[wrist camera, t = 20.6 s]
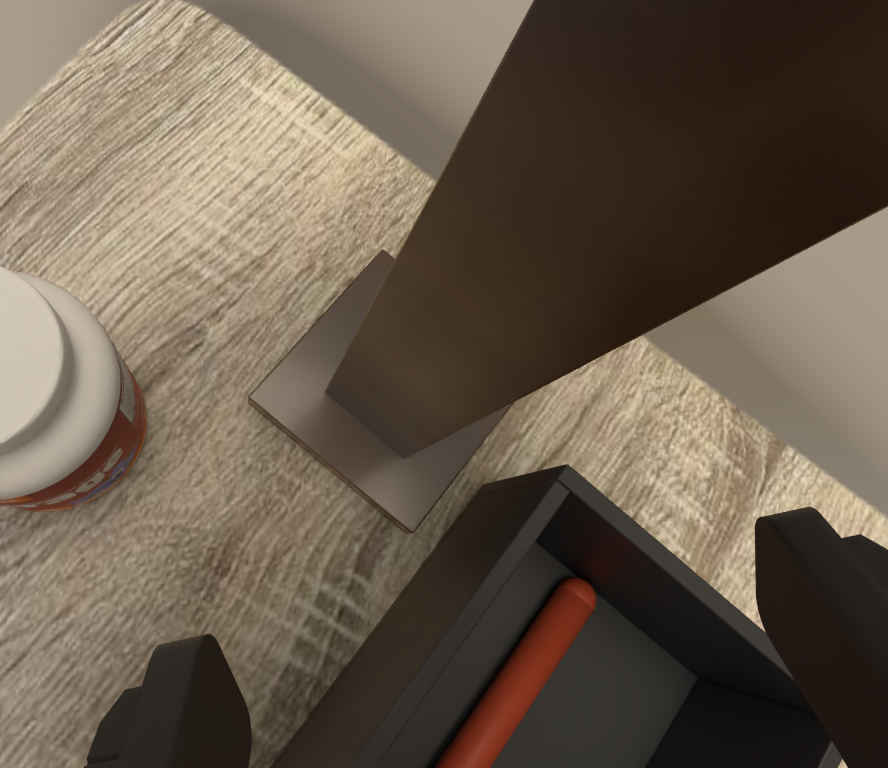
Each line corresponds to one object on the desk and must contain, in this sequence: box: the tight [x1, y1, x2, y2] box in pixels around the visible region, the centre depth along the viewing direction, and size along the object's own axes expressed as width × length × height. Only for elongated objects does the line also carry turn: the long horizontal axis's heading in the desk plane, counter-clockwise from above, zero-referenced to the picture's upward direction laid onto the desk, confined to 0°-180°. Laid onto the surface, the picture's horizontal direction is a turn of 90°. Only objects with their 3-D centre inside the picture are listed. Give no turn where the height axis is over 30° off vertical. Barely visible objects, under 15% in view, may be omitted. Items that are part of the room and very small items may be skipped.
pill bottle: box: [0, 266, 147, 512], centre depth 23 cm, size 6×6×11 cm
